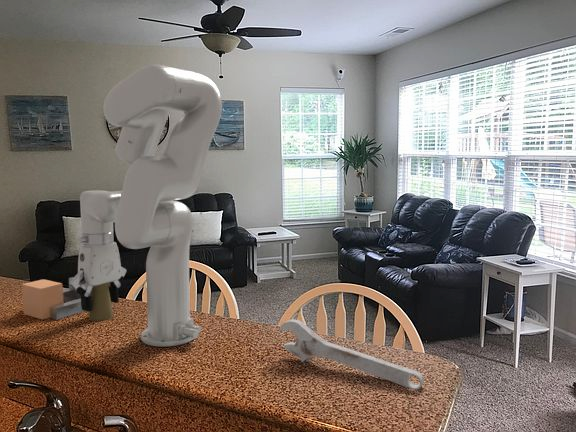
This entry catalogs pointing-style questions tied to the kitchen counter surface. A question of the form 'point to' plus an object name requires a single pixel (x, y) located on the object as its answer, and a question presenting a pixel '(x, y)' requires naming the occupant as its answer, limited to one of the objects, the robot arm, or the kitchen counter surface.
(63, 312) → the u-shaped metal bracket
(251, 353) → the kitchen counter surface
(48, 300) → the block
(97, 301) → the cork
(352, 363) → the wrench
